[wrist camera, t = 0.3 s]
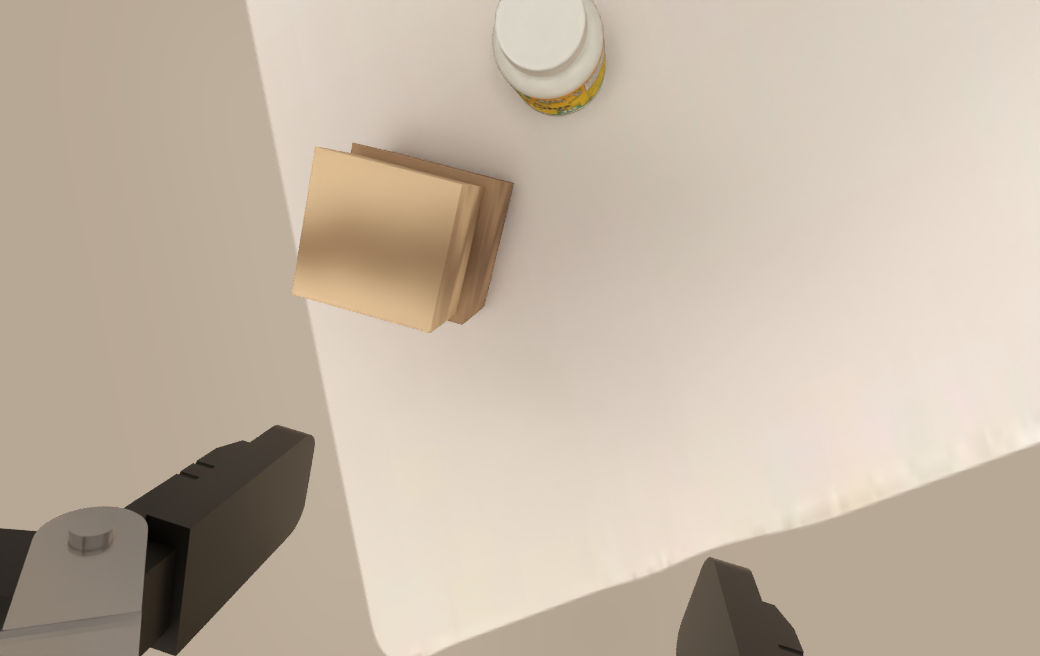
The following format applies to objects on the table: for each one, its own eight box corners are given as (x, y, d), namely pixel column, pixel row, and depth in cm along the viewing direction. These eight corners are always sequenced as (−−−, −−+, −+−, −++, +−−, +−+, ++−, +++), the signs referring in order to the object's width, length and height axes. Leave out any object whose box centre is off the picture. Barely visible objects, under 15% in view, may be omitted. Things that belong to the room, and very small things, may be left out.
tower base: (392, 152, 38) (352, 142, 32) (513, 183, 37) (496, 179, 31) (369, 274, 40) (327, 286, 34) (484, 306, 39) (462, 324, 33)
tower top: (359, 155, 32) (315, 146, 27) (484, 187, 31) (462, 184, 26) (337, 280, 34) (291, 294, 29) (456, 313, 33) (429, 333, 28)
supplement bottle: (620, 40, 34) (624, -19, 25) (582, 131, 36) (573, 106, 26) (534, 5, 35) (507, -67, 25) (500, 97, 36) (462, 60, 27)
